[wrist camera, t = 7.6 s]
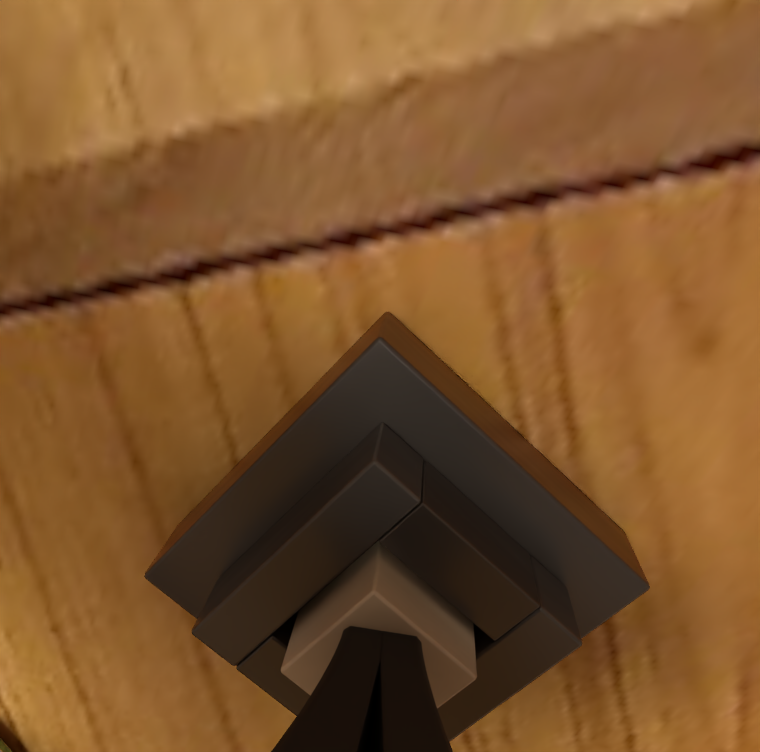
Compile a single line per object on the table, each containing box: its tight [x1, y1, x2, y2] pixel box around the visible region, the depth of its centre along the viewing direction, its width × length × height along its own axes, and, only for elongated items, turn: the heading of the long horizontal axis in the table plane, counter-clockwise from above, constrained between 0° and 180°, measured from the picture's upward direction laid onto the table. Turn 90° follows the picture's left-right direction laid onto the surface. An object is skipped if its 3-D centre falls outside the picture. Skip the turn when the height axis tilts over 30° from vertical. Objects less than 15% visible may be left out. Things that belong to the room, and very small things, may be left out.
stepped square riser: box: [144, 312, 650, 742], centre depth 15 cm, size 8×8×4 cm
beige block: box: [281, 540, 477, 708], centre depth 13 cm, size 3×3×2 cm
